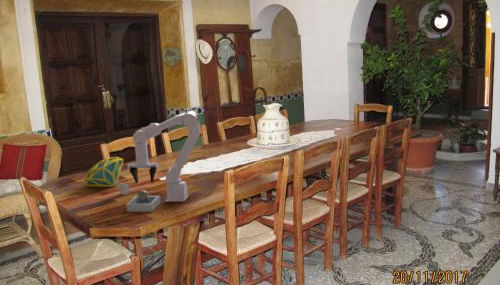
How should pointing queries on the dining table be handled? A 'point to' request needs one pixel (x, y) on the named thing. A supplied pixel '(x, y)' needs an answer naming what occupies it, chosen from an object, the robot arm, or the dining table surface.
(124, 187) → the lighter
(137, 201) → the dish
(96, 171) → the decorative object
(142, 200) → the battery cell
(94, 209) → the dining table surface
